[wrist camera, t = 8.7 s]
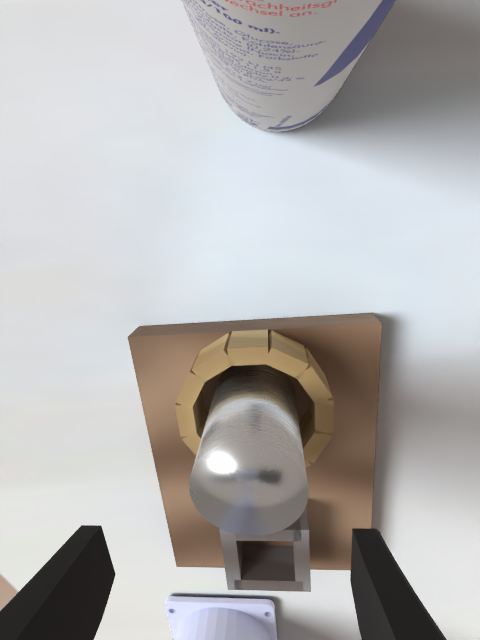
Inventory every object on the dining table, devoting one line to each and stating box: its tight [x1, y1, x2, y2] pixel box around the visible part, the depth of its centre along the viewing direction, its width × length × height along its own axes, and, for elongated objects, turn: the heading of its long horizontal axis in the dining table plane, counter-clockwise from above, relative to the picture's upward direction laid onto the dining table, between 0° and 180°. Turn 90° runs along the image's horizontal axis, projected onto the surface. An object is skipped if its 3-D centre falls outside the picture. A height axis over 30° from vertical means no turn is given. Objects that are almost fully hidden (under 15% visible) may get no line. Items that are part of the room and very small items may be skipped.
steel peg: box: [189, 364, 308, 536], centre depth 14 cm, size 4×4×6 cm
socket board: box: [128, 313, 382, 592], centre depth 18 cm, size 16×12×4 cm
